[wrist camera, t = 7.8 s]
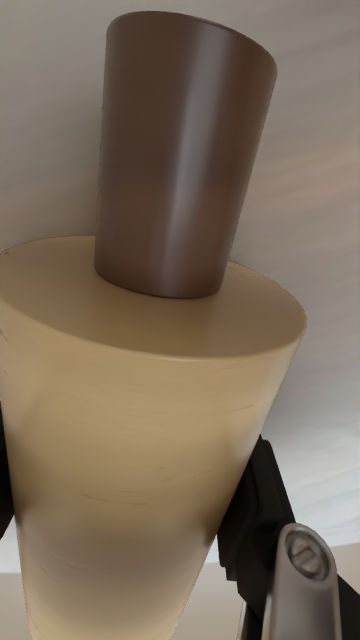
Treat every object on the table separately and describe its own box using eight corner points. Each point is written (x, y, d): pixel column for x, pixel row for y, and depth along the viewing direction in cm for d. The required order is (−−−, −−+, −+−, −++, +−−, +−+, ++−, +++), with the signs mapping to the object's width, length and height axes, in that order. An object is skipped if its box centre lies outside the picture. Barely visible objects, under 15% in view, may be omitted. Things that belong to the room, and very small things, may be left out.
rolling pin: (76, 77, 7) (-330, -257, 2) (313, 129, 7) (655, -24, 2) (67, 521, 15) (-4, 704, 10) (177, 540, 16) (165, 730, 10)
